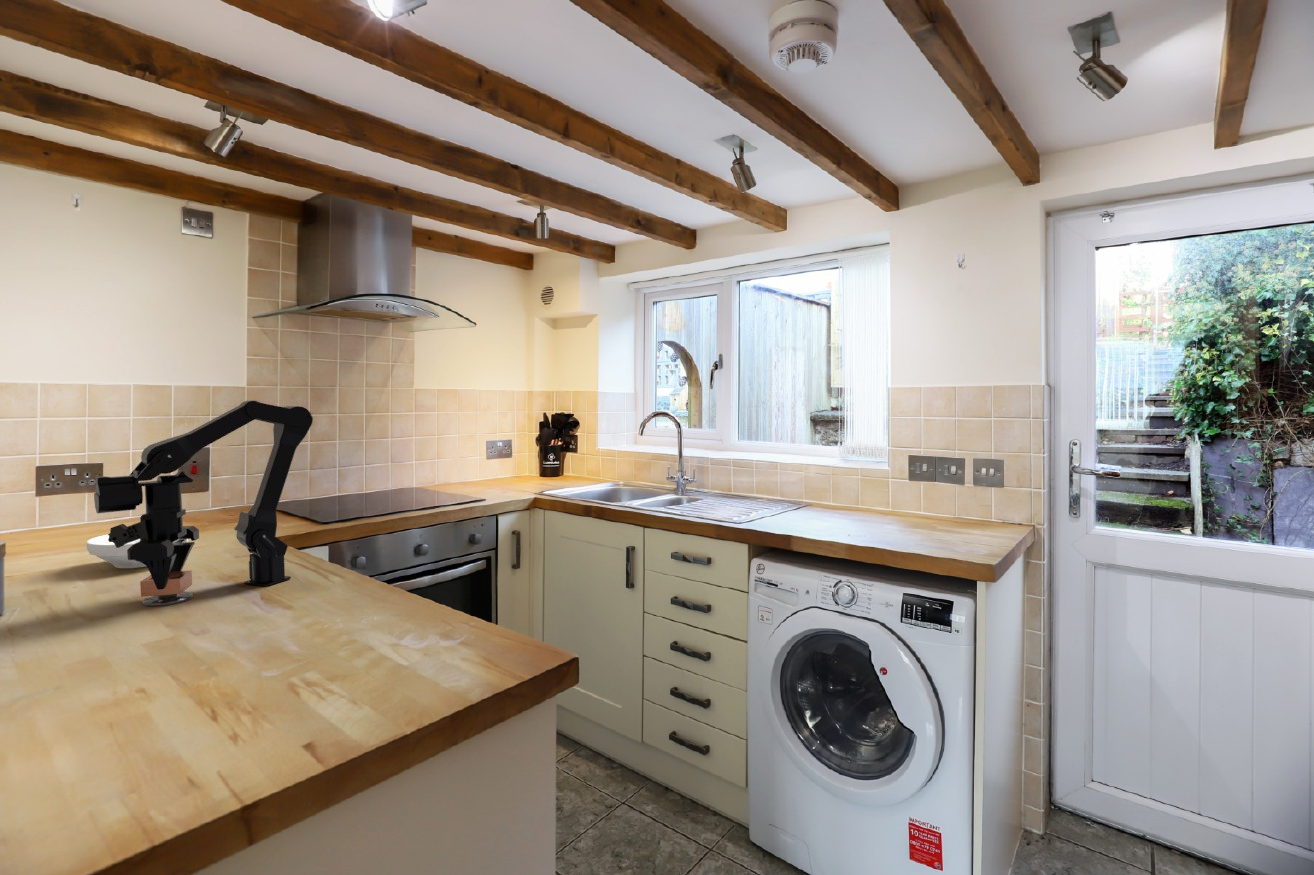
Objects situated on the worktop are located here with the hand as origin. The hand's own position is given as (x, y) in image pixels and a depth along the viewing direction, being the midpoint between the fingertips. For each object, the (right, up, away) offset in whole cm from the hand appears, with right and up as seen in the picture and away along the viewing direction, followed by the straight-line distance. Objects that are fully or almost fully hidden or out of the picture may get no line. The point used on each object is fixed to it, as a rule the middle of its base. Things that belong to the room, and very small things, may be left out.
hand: (167, 584), depth 131 cm
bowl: (-27, -2, +28) cm, 39 cm away
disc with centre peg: (0, -3, 0) cm, 3 cm away
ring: (0, -1, 0) cm, 1 cm away
